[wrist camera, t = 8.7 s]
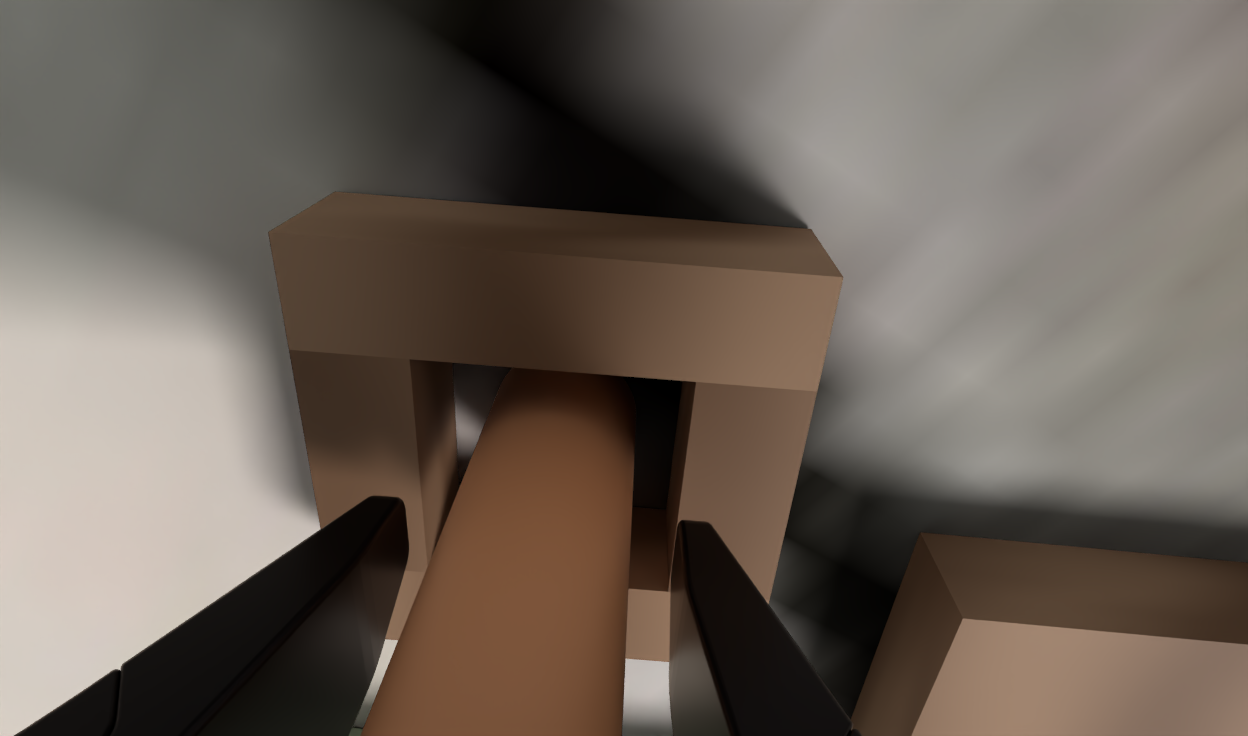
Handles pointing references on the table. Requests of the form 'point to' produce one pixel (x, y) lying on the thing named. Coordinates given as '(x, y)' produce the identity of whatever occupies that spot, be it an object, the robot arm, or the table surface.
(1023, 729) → the tan rectangular slab
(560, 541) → the dowel
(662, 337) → the socket block
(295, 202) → the table surface
